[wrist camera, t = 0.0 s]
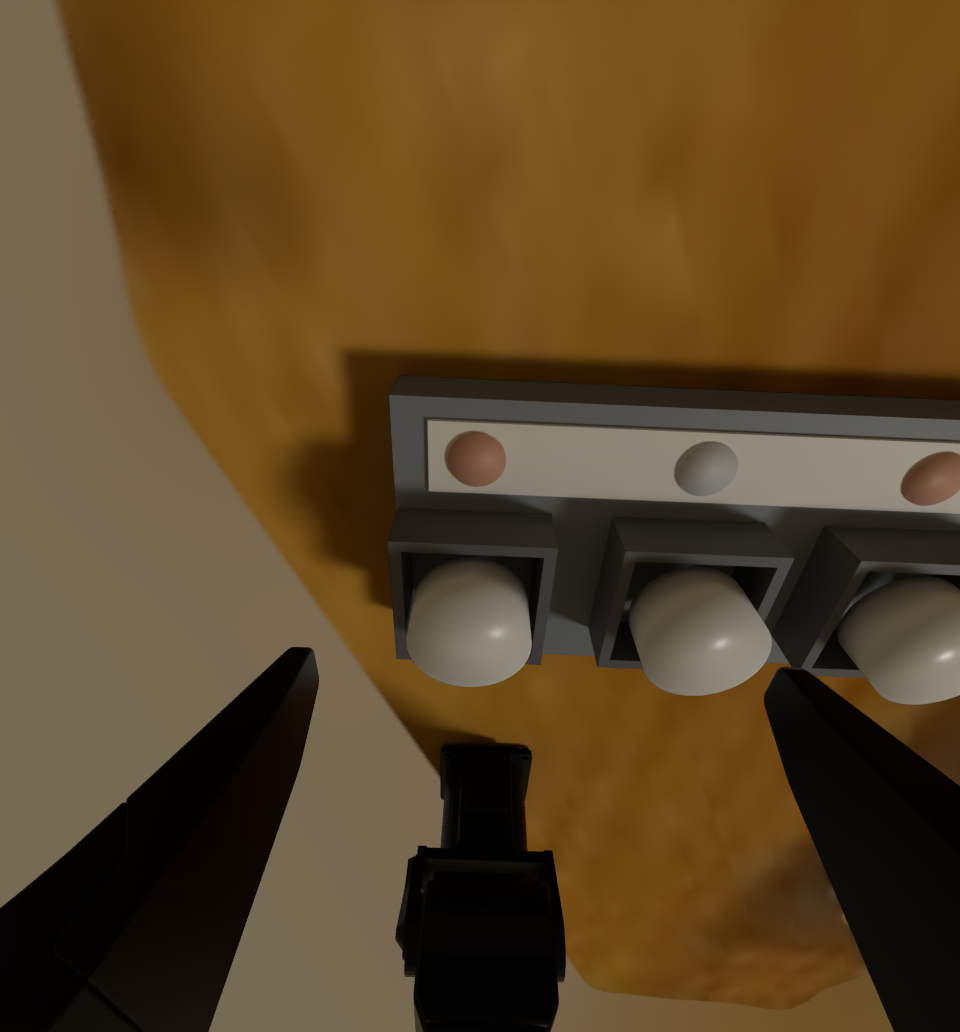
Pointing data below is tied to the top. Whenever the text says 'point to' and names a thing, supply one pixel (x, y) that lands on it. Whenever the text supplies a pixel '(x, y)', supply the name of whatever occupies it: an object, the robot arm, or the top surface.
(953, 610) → the button
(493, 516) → the button board
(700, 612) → the button mid
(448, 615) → the button end
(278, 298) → the top surface
